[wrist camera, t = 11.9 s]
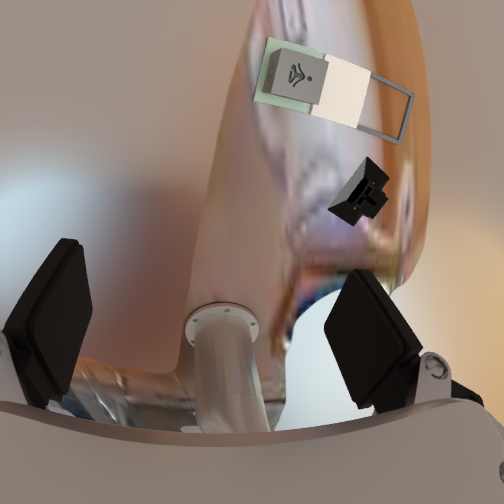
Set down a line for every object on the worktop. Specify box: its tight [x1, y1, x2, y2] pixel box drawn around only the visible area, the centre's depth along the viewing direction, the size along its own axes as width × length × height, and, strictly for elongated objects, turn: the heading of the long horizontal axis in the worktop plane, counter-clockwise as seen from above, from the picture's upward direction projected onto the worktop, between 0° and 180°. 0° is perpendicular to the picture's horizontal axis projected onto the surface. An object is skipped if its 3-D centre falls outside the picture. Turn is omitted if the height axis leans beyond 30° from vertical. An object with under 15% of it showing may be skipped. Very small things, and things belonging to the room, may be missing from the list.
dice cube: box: [262, 48, 329, 105], centre depth 25 cm, size 5×5×5 cm
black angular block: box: [328, 157, 389, 226], centre depth 36 cm, size 12×7×5 cm, turn 147°
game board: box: [253, 37, 415, 146], centre depth 29 cm, size 8×21×1 cm, turn 78°
